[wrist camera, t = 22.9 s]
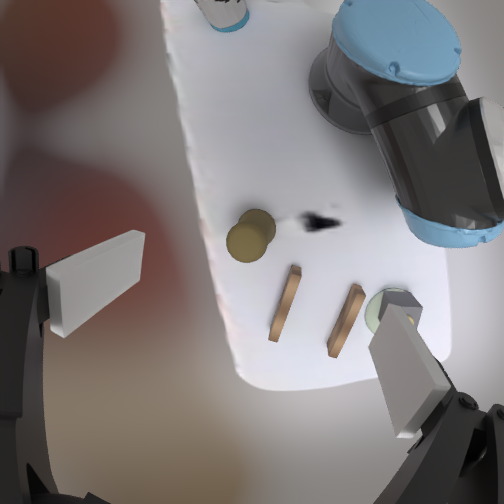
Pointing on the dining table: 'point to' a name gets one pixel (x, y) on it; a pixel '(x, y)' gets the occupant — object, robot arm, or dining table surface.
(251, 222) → the cork
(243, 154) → the dining table surface
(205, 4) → the cup
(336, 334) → the guide channel
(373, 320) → the saucer
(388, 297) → the plug
